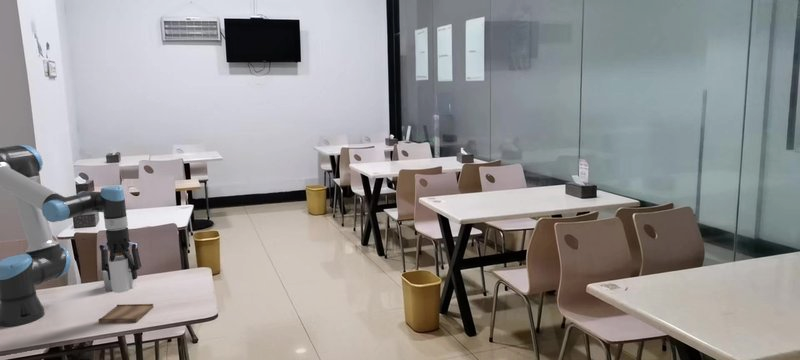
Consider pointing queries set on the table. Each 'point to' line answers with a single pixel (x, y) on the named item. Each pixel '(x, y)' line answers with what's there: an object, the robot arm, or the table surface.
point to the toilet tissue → (107, 282)
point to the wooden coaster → (126, 313)
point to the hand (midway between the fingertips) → (124, 287)
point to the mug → (119, 274)
